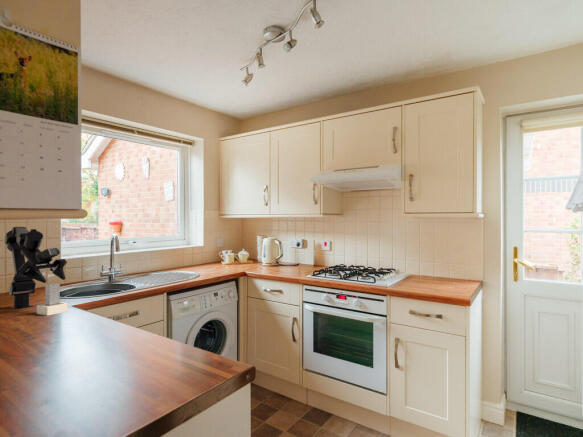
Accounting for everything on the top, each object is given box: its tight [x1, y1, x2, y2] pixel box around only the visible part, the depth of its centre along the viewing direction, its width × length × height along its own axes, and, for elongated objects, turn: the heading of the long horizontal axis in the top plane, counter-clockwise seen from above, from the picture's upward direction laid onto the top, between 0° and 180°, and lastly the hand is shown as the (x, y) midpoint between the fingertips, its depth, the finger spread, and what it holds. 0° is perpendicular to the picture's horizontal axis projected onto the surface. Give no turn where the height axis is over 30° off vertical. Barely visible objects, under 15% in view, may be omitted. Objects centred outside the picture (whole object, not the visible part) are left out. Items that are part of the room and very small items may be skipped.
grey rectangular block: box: [44, 283, 61, 306], centre depth 144 cm, size 4×4×12 cm
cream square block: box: [36, 301, 69, 316], centre depth 143 cm, size 8×8×4 cm
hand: (55, 280), depth 144 cm, fingers open, 9 cm apart
